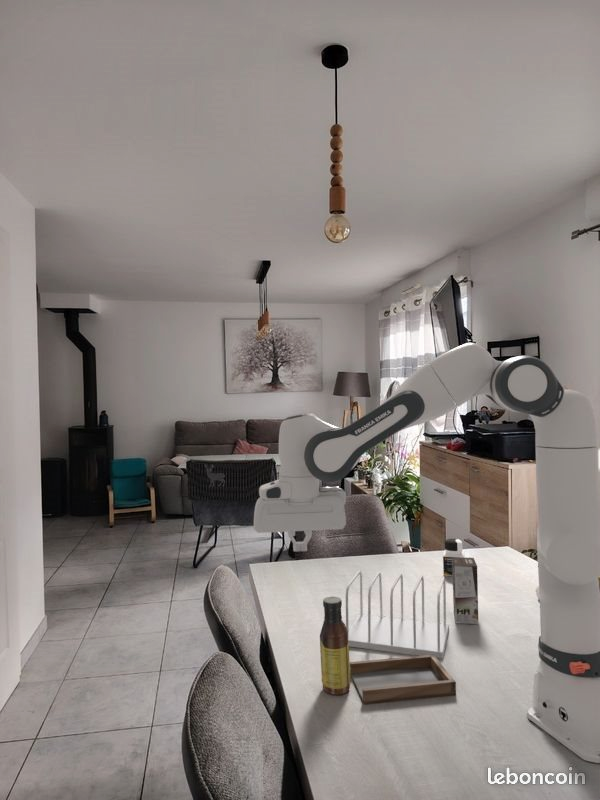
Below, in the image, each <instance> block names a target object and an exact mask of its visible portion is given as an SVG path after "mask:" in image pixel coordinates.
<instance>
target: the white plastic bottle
mask: <svg viewBox="0 0 600 800" xmlns="http://www.w3.org/2000/svg"><path fill="white" fill-rule="evenodd" d="M452 558H465V551H464V550H463V541H462V540H460V539H459V538H447V539H445V540H444V551H443V553H442V565H443V566H442V567H443V571H442V572H443V577H445V576H446V577H453V575H452Z"/></svg>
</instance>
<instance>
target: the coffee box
mask: <svg viewBox="0 0 600 800" xmlns="http://www.w3.org/2000/svg"><path fill="white" fill-rule="evenodd" d="M452 575H453V576H452V597H453V598H452V601H453V603H452V604H453V614H454V621H455V623H456V624H467V625H470V624H471V625H479V591H478V590H479V589H478V587H479V585H478V584H479V582H478V564H477V562H476V561H475V558H474V557H464V558H452Z"/></svg>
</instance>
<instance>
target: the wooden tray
mask: <svg viewBox="0 0 600 800" xmlns="http://www.w3.org/2000/svg"><path fill="white" fill-rule="evenodd" d="M349 662H350V678H351V680H352V682H353V685H354V686H355V688H356V691H357V693H358V695H359V697H360V699H361V701H362V703H363V705H373V704H382V703H383V704H384V703H391V702H401V701H411V700H419V699H421V700H423V699H429V698H430V699H431V698H440V697H450V696H456V695H457V681H456V679H454V678H453V677H452V675H451V674H450V673H449V672H448V670H447V669H446V668H445V667H444V666H443V665H442V663H441V662H440V661H439V659H438V658H436V657H435V656H434V655H423V656H417V655H411V656H402V657H392V658H382V659H381V658H380V659H370V660H369V659H368V660H358V661H349Z"/></svg>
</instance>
